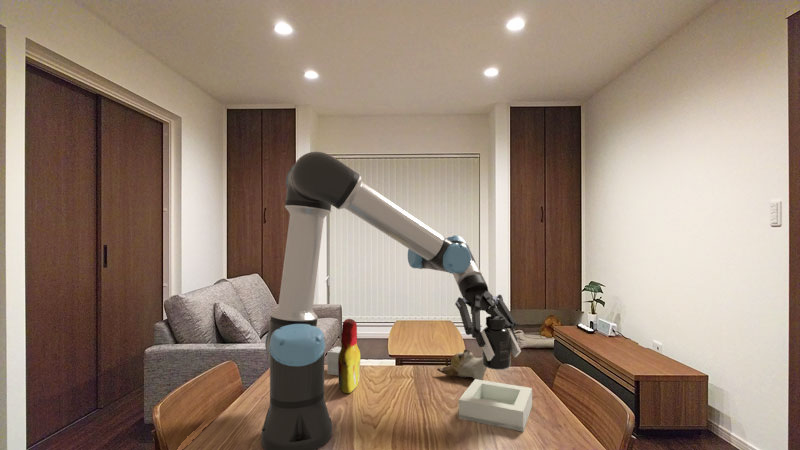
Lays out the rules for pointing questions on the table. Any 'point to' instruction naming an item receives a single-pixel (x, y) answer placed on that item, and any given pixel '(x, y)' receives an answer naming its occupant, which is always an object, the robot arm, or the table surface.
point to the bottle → (349, 357)
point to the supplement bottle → (497, 343)
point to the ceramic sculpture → (465, 366)
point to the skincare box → (333, 360)
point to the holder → (496, 404)
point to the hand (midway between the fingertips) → (504, 355)
